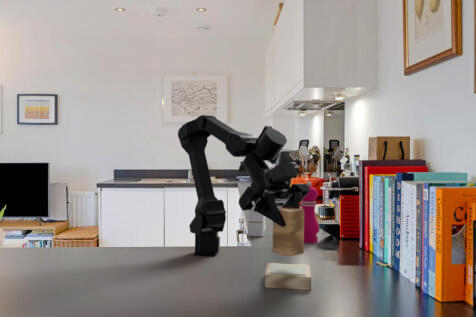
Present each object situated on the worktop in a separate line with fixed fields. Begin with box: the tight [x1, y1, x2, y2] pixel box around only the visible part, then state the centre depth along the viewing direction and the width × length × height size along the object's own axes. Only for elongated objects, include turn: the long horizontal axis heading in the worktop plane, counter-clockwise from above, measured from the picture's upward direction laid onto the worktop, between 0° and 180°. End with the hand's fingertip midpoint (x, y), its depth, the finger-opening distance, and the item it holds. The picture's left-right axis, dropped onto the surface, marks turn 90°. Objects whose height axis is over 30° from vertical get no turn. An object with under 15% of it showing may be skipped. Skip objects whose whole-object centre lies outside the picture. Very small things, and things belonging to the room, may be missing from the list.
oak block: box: [272, 207, 305, 257], centre depth 96 cm, size 5×5×10 cm
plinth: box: [264, 262, 312, 291], centre depth 96 cm, size 10×10×3 cm
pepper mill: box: [300, 181, 320, 244], centre depth 140 cm, size 7×7×20 cm
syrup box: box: [247, 201, 267, 237], centre depth 150 cm, size 6×6×14 cm
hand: (292, 224), depth 95 cm, fingers closed on oak block, 5 cm apart
